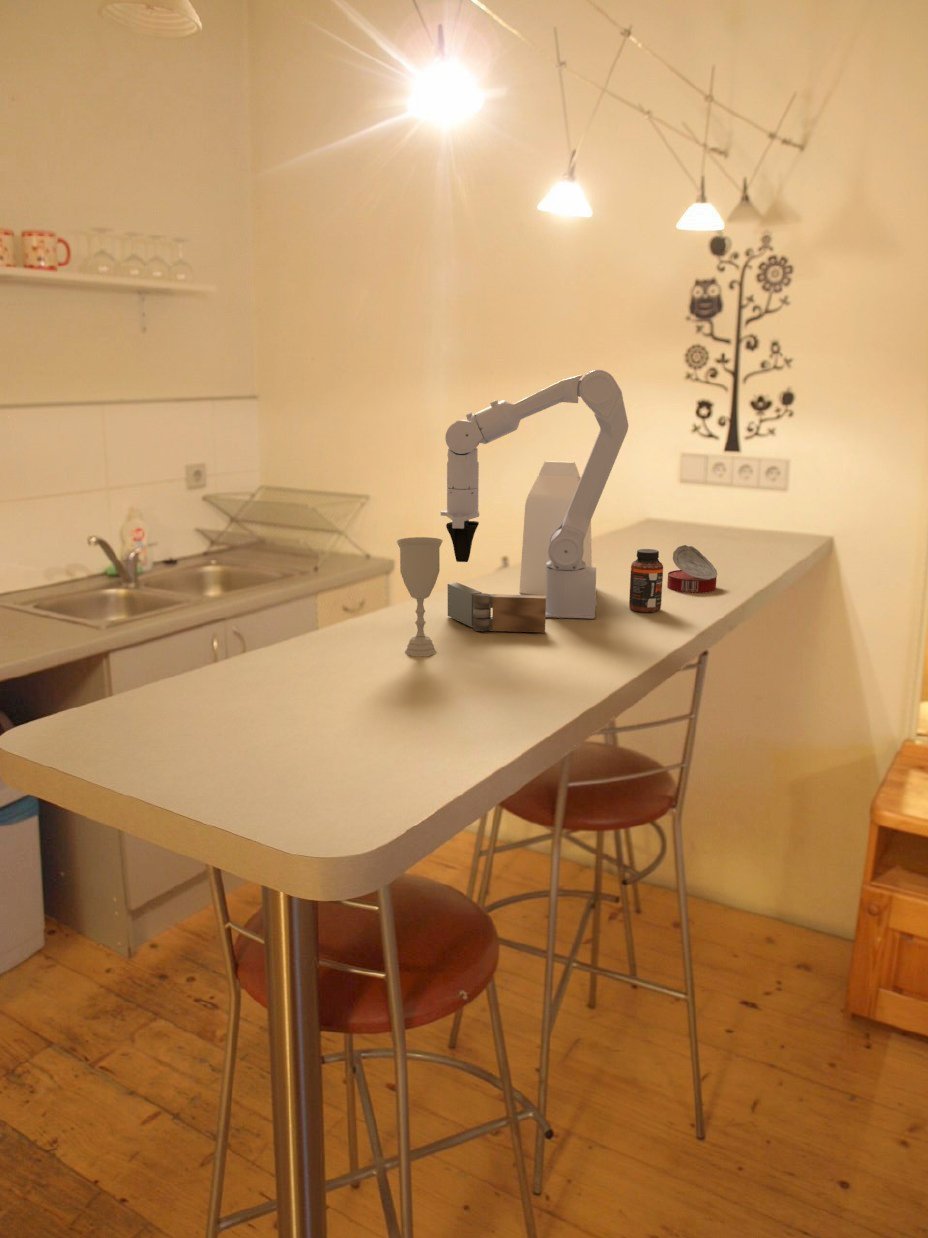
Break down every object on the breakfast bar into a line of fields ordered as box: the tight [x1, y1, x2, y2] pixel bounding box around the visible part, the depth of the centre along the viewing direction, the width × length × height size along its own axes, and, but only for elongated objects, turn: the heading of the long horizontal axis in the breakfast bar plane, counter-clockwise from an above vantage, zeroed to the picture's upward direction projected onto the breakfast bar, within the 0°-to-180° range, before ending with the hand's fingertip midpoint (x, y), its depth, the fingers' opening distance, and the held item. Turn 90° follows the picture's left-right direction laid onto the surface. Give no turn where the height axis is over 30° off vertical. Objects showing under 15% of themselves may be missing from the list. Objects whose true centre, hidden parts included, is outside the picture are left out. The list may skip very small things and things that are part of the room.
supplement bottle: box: [628, 548, 664, 613], centre depth 186 cm, size 6×6×11 cm
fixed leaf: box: [472, 592, 547, 633], centre depth 171 cm, size 12×3×6 cm, turn 83°
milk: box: [519, 460, 593, 596], centre depth 201 cm, size 12×12×26 cm
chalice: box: [396, 536, 444, 657], centre depth 158 cm, size 7×7×18 cm
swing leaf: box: [447, 582, 492, 628], centre depth 176 cm, size 12×3×6 cm, turn 29°
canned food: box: [666, 544, 718, 594], centre depth 205 cm, size 11×10×10 cm
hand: (462, 561), depth 184 cm, fingers closed
